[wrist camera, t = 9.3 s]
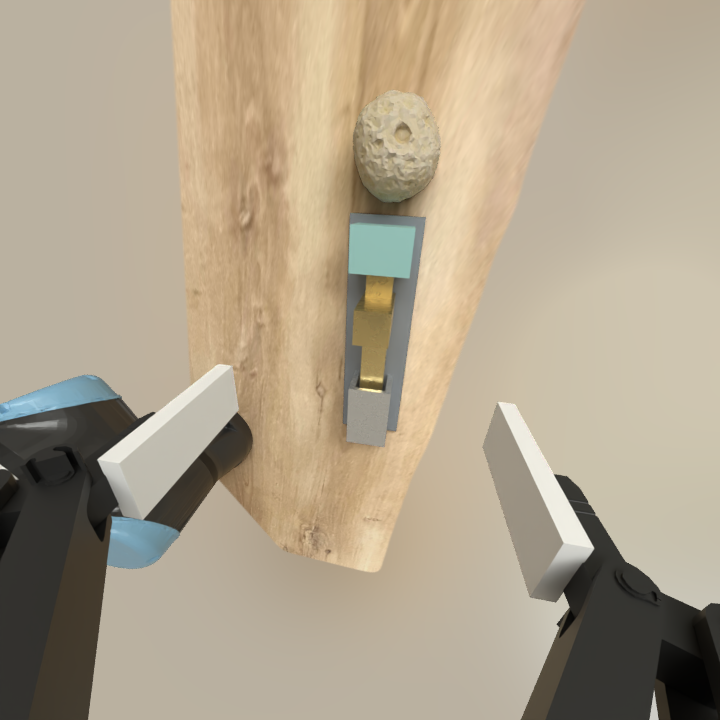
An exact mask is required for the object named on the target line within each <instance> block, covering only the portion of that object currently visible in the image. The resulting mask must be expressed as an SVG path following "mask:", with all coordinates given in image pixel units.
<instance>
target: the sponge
mask: <svg viewBox="0 0 720 720" xmlns="http://www.w3.org/2000/svg"><path fill="white" fill-rule="evenodd" d="M353 144H354V145H353V150H354V159H355V163H356V166H357V169H358V172H359V175H360V178H361V180H362V183H363V185H364V186H365V187H366V188H367V189H368V191H369V192H370V193H371V194H373V195H374V196H375V197H376V198H377V199H379V200H380V201H382V202H401V201H403V200H404V199H406V198H410V197H412V196H414V195H416V194H417V193H418V192H420V191H421V190H423V189H424V187H426V185H427V184H428V183H429V182H430V180H431V179H432V178H433V175H434V173H435V170H436V169H437V164H438V160H439V156H440V147H441V146H440V145H441V141H440V135H439V130H438V126H437V123H436V121H435V119H434V116H433V114H432V112H431V110H430V109H429V108H428V105H427V103H426V102H425V101H424V98H423V97H419V96H418V95H417V94H415V93H411V92H405V93H402V92H400V91H397V90H390V91H388V92H386V93H384V94H382V95H379V96H377V97H376V100H374V101H372V102H371V103H369V104H368V105H366V106H365V107H364V108H363V110H362V111H361V113H360V114H359V117H358V121H357V123H356V127H355V130H354V134H353Z"/></svg>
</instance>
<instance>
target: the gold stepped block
mask: <svg viewBox="0 0 720 720" xmlns="http://www.w3.org/2000/svg"><path fill="white" fill-rule="evenodd" d="M393 286H394V277H386V276H374V275H367V276H366V290H365V292H364V294H363V296H362V297H361V299H360V301H359V302H358V304H357V306H356V307H355V309H354V316H353V338H352V345H357V346H362V357H361V373H360V388H365V389H373V390H381V391H382V389H383V382H384V373H385V363H386V353H387V349H388V346H389V341H390V335H391V329H392V323H393V315H394V306H395V297H396V293H393Z"/></svg>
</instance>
